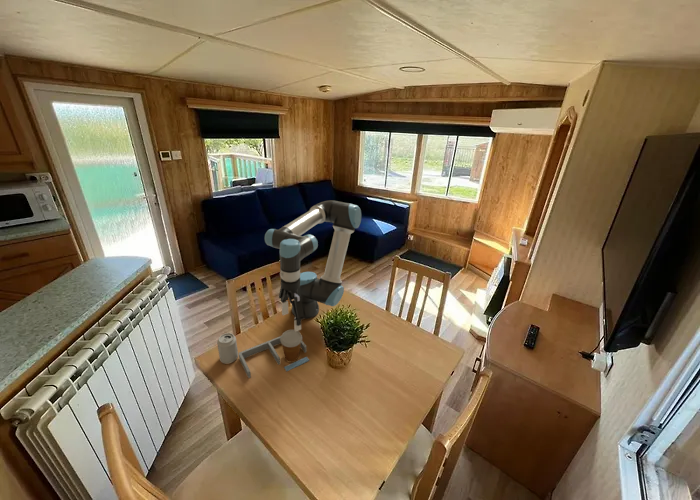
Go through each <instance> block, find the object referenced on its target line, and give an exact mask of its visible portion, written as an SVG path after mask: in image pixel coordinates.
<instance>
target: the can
mask: <svg viewBox="0 0 700 500" xmlns="http://www.w3.org/2000/svg"><path fill="white" fill-rule="evenodd" d="M216 344H217V351H218V356H219V361H220V362H221V363H222V364H232V363H233V362H235V361H236V360H237V359H239V351H238V344H237V337H236V336H235V335H234V333H232V332H225V333H223V334H221V335H220V336H219V337H218V340H217V342H216Z"/></svg>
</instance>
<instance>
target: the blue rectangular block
mask: <svg viewBox="0 0 700 500" xmlns="http://www.w3.org/2000/svg"><path fill="white" fill-rule="evenodd" d="M307 362H310V359H309V358H308V356H305V357H302V358H300V359H297V360H296V361H293V362H291V363H289V364H288V365H284V367H283V368H284V370H285V372H288V371H291V370H294V369H296V368H298V367H300V366H301V365H304V364H305V363H307Z"/></svg>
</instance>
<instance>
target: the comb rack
mask: <svg viewBox="0 0 700 500" xmlns="http://www.w3.org/2000/svg"><path fill="white" fill-rule="evenodd" d="M281 336H282V335H279V336H278V337H274V338H272V339H271V340H267V341H265V342H262V343H260V344H257V345H254V346H252V347H250V348H246V349H245V350H242V351H238V359H239V361H240V363H241V365H242V367H243V369H244V372H245V374H246V376H247V378H248V379H250V378H252V375H251V374H252V373H251V370H250V368H249V366H248V364H247V362H246V358H248V357H251V356H254V355H256V354H258V353H261V352H263V351H265V350H268V351H269V352H270V355H272V357H273V359H274V360H275V362H276V364H277V365H281V356H280V355H279V354H278V352H277V351H276V349H275V348H274V347H276V346H278V345H280V344H282V343H281V341H280V338H281ZM307 347H308V346H307V345H306V344H305V342H304V341H303V340H302V341H301V345H300V349H301V350H302V351H303V353H305V354H306V353H307V351H308V350H307V349H308V348H307Z"/></svg>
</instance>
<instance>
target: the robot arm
mask: <svg viewBox="0 0 700 500" xmlns="http://www.w3.org/2000/svg"><path fill="white" fill-rule="evenodd" d="M324 222H326V223H333V224H332V227H333V229H334V231H333V236H332V240H331V244H330V249H329V252H328V257H327V261H326V264H325V270H324V273H323V274H322V275H321V276H320V277H319V278H318V275H317V273H315V272H313V271H304V272H301V261H302V260H303V259H304V258H306V257H308V256H310V254H311V255H312V254H313V253H314V252H315V251H316V250H317V249H318V246H319V244H318V243H319V242H318V239H317V238H316V236H314V235H313V234H311V233H310V234H309V233H308V234H305V233H306V232H308V231H309V230H310V229H312V228H313V227H315V226H316V225H318V224H323V223H324ZM361 222H362V210H361V208H360V207H359V205H357V204H353V203H349V202H343V201H338V200H330V199H329V200H324V201H321V202H319V203H316V204H314V205H313V206H311V207H310V208H309V210H308V211H307V212H305V213H303V214H301V215H300V216H298V217H297V218H295V219H294V220H292V221H290V222H289V223H287V224H285V225H284V226H282V227H281V228H279V229H276V228H270V229H268V230H267V231H266V232H265V234H264V243H265V244H266V245H267V246H270V247H272V248H275V249H279V253H278V254H279V260H280V261H279V262H280V266H279V268H280V272H279V276H280V287H279V288H280V289H279V293H278V298H279V299H280V302H281V315H282V316H285V315H288V314H289V303H290V304H291V313H292V315H293V316H294V319H293V320H294V322H293V324H294V325H293V326H294V327H293V328H294V329H293V330H294V331H295V332H296V331H299V332H300V331H302V321H303V320H305V319H312V318H314V317H315V316H317V315H319V314H318V313H319V312H320V306H319V303H320V304H322V305H326V306H330V307H335V306H337V305H338V304H339V303H340V301H341V299H342V297H343V295H344V291H345V287H344V286H343V281H342V279H341V275H342V271H343V268H344V262H345V259H346V255H347V251H348V246H349V242H350V238H351V234H353V233H354V232H355V229H359V227H360V225H361ZM303 234H305V235H303ZM302 235H303V236H302Z"/></svg>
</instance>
